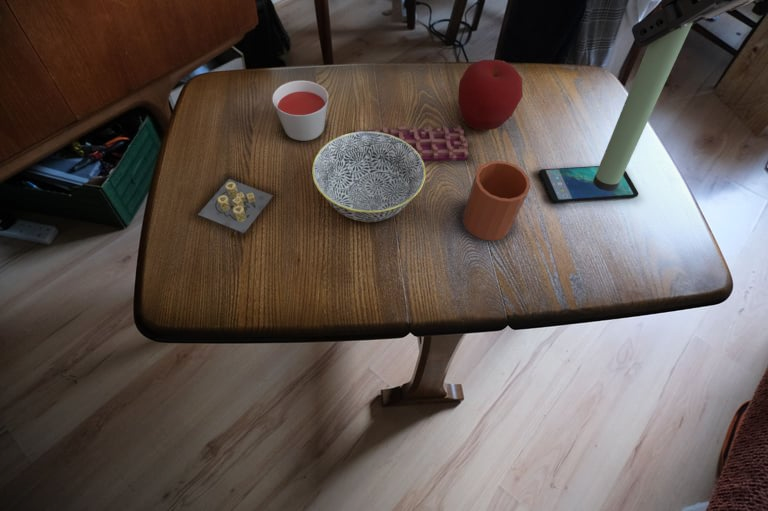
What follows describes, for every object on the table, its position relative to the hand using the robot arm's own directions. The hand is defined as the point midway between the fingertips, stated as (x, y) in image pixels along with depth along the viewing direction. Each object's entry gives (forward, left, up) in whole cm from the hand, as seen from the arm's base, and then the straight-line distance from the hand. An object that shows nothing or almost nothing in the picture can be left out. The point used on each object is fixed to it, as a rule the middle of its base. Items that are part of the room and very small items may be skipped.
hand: (648, 33), depth 43 cm
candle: (+40, +16, -30) cm, 52 cm away
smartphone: (0, -12, -30) cm, 33 cm away
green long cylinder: (-5, +1, -16) cm, 17 cm away
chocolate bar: (+25, +4, -30) cm, 39 cm away
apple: (+22, -10, -30) cm, 38 cm away
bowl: (+20, +18, -30) cm, 40 cm away
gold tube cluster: (+32, +34, -30) cm, 56 cm away
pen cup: (+6, +6, -30) cm, 31 cm away
